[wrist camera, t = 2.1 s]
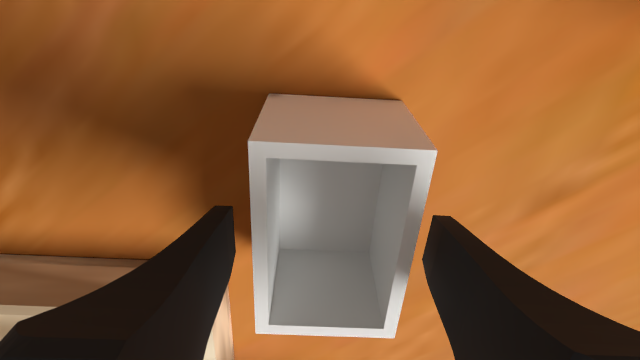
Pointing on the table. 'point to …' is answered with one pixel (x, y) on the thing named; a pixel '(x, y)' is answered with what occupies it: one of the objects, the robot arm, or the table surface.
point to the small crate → (335, 213)
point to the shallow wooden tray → (79, 291)
